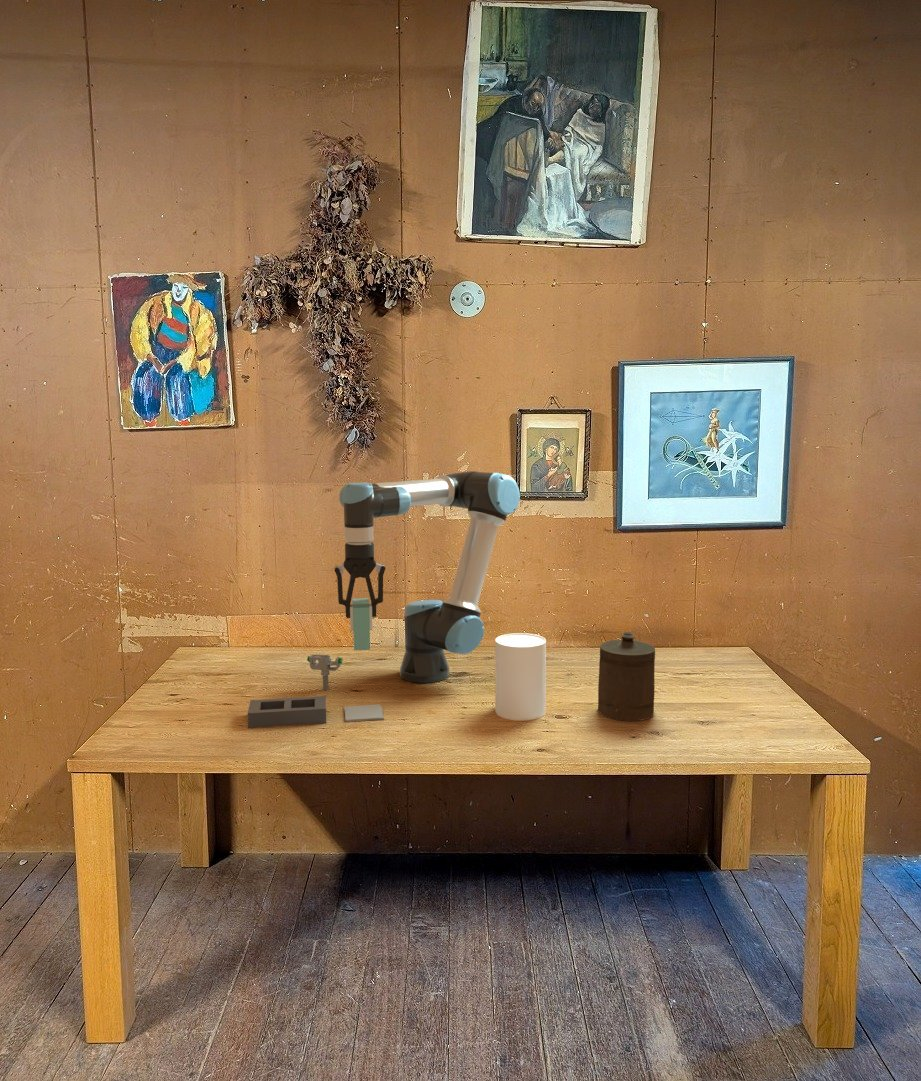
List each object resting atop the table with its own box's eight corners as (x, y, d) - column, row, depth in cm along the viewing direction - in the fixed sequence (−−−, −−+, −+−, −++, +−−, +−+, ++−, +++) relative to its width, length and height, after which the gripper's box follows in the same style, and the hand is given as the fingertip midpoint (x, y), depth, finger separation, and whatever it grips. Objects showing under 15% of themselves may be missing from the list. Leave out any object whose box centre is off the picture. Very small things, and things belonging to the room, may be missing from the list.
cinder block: (326, 709, 241) (325, 695, 240) (326, 723, 231) (325, 708, 231) (251, 714, 238) (250, 700, 237) (248, 728, 228) (247, 713, 228)
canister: (555, 711, 239) (556, 639, 236) (522, 724, 230) (522, 650, 226) (518, 699, 248) (518, 630, 245) (485, 711, 239) (484, 640, 236)
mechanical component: (340, 692, 255) (339, 658, 253) (307, 689, 257) (306, 656, 255) (344, 688, 258) (343, 655, 256) (311, 686, 260) (309, 653, 258)
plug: (369, 645, 237) (368, 598, 235) (370, 649, 233) (369, 601, 230) (353, 646, 236) (352, 598, 234) (354, 650, 232) (352, 602, 230)
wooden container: (640, 700, 247) (642, 624, 243) (663, 719, 233) (665, 638, 229) (589, 704, 244) (591, 627, 240) (610, 724, 230) (612, 642, 226)
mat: (381, 706, 243) (381, 704, 243) (383, 719, 233) (383, 717, 233) (344, 708, 242) (344, 706, 242) (345, 722, 232) (345, 719, 232)
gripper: (391, 538, 235) (392, 624, 239) (325, 540, 232) (328, 627, 236) (393, 543, 227) (395, 631, 231) (325, 545, 225) (328, 634, 229)
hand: (361, 629), depth 234 cm, fingers closed on plug, 4 cm apart
